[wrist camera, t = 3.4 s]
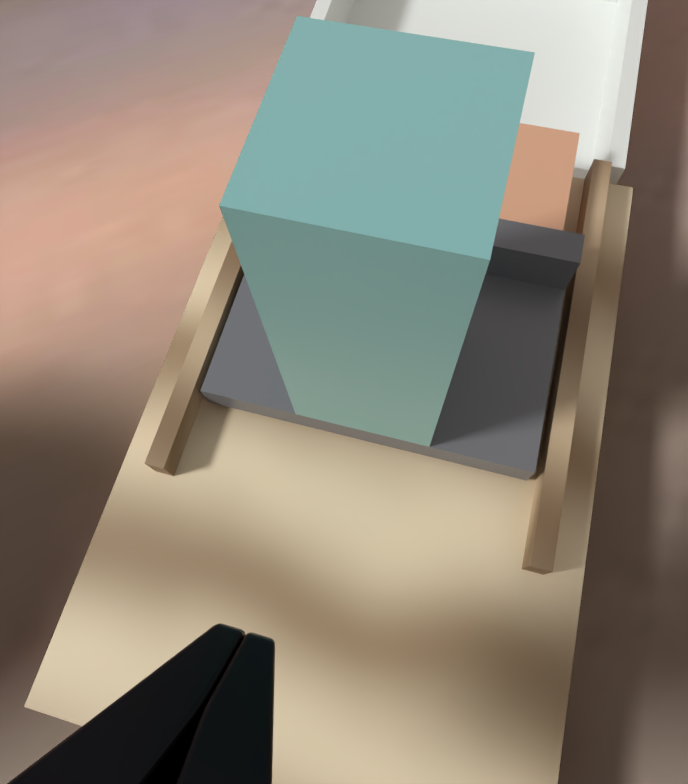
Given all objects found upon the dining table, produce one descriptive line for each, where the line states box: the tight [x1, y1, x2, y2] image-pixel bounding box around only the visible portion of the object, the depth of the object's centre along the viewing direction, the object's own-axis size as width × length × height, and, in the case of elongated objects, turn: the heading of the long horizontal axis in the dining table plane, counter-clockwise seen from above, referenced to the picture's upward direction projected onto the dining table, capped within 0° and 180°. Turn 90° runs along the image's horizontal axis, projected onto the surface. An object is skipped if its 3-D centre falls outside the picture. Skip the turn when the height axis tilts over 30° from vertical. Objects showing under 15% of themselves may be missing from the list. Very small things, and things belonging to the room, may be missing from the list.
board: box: [24, 159, 633, 784], centre depth 20 cm, size 21×14×4 cm, turn 165°
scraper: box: [200, 16, 585, 481], centre depth 15 cm, size 7×10×10 cm
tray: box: [310, 0, 648, 184], centre depth 25 cm, size 12×13×4 cm
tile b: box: [499, 123, 580, 230], centre depth 21 cm, size 4×4×2 cm
